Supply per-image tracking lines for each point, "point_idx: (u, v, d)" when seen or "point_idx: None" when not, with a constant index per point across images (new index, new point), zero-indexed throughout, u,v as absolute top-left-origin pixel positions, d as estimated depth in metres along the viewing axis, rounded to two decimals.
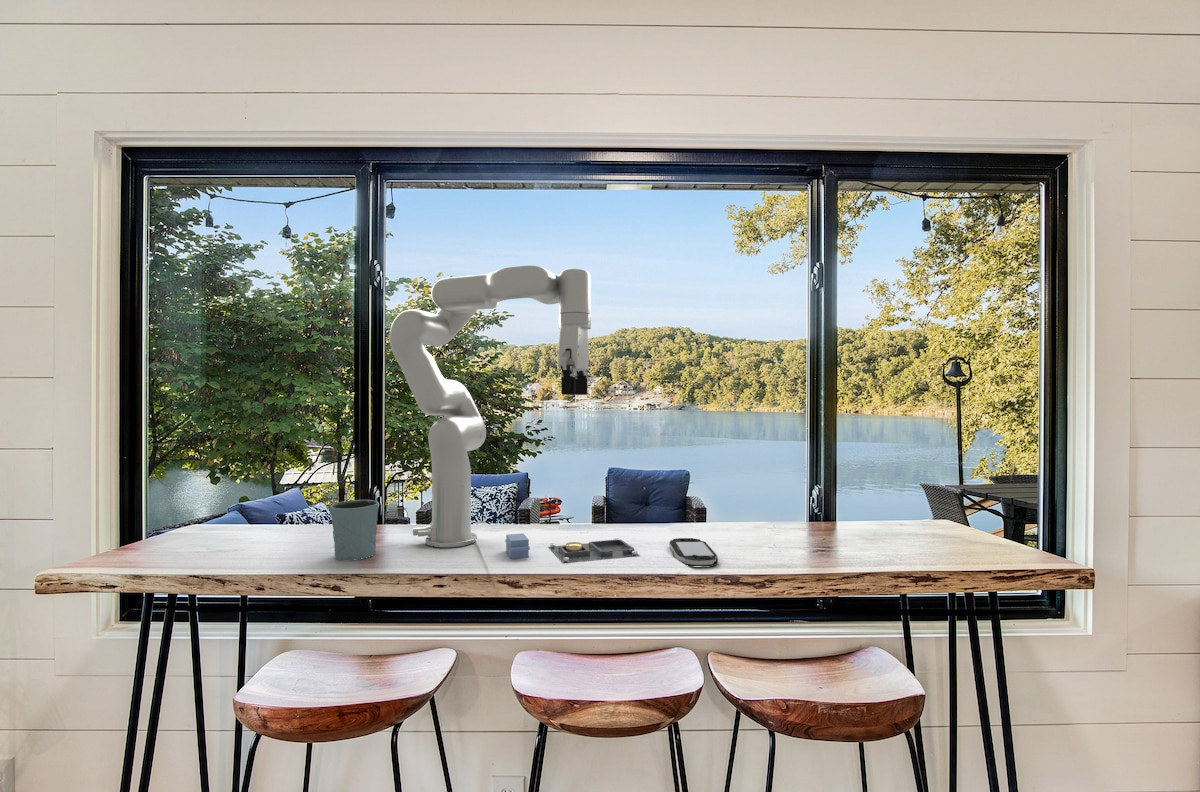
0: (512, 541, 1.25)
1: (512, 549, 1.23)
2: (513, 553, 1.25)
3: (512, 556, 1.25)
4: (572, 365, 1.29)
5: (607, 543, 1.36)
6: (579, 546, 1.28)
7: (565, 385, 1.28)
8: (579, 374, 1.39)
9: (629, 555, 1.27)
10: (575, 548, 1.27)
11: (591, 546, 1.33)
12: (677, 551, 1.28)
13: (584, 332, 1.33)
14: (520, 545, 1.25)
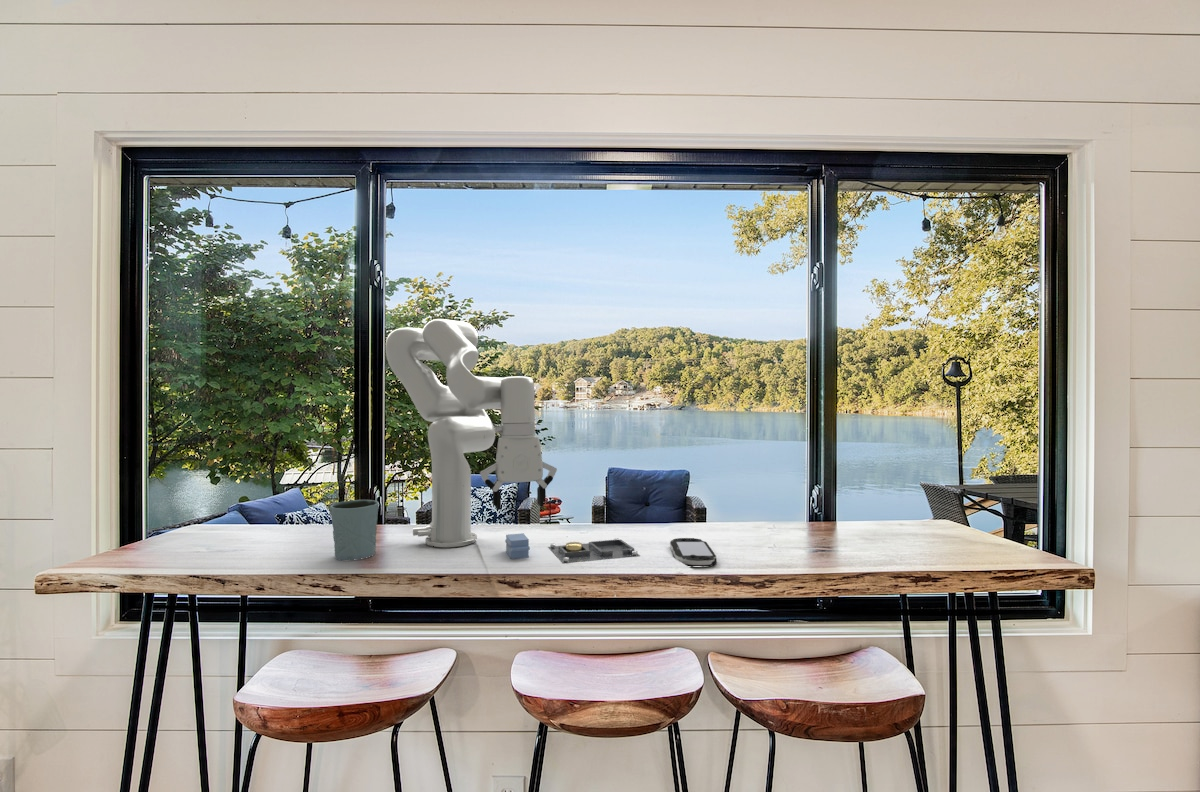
0: (512, 541, 1.25)
1: (512, 549, 1.23)
2: (513, 553, 1.25)
3: (512, 556, 1.25)
4: None
5: (607, 543, 1.36)
6: (579, 546, 1.28)
7: None
8: None
9: (629, 555, 1.27)
10: (575, 548, 1.27)
11: (591, 546, 1.33)
12: (676, 551, 1.29)
13: None
14: (520, 545, 1.25)
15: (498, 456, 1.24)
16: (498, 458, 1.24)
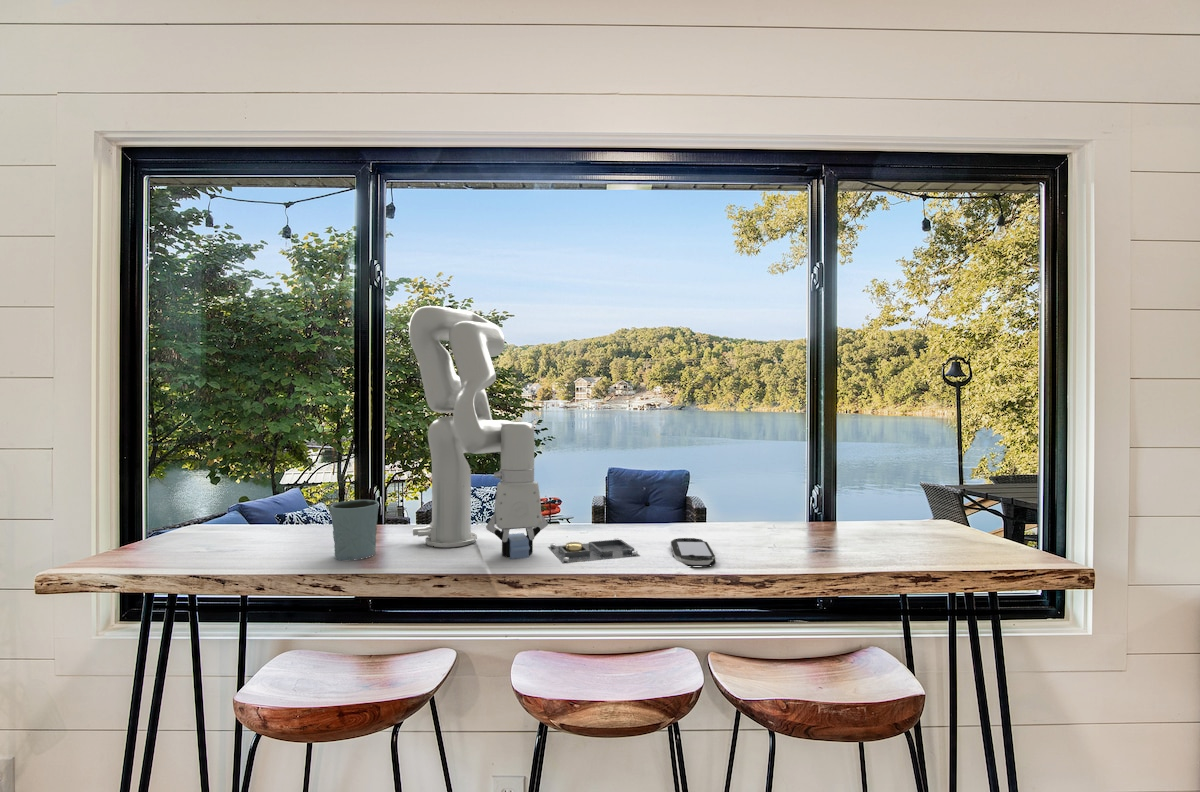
0: (512, 541, 1.25)
1: (512, 549, 1.23)
2: (513, 553, 1.25)
3: (512, 556, 1.25)
4: None
5: (607, 543, 1.36)
6: (579, 546, 1.28)
7: None
8: None
9: (629, 555, 1.27)
10: (575, 548, 1.27)
11: (591, 546, 1.33)
12: (676, 551, 1.29)
13: None
14: (520, 545, 1.25)
15: (497, 502, 1.25)
16: (497, 504, 1.25)
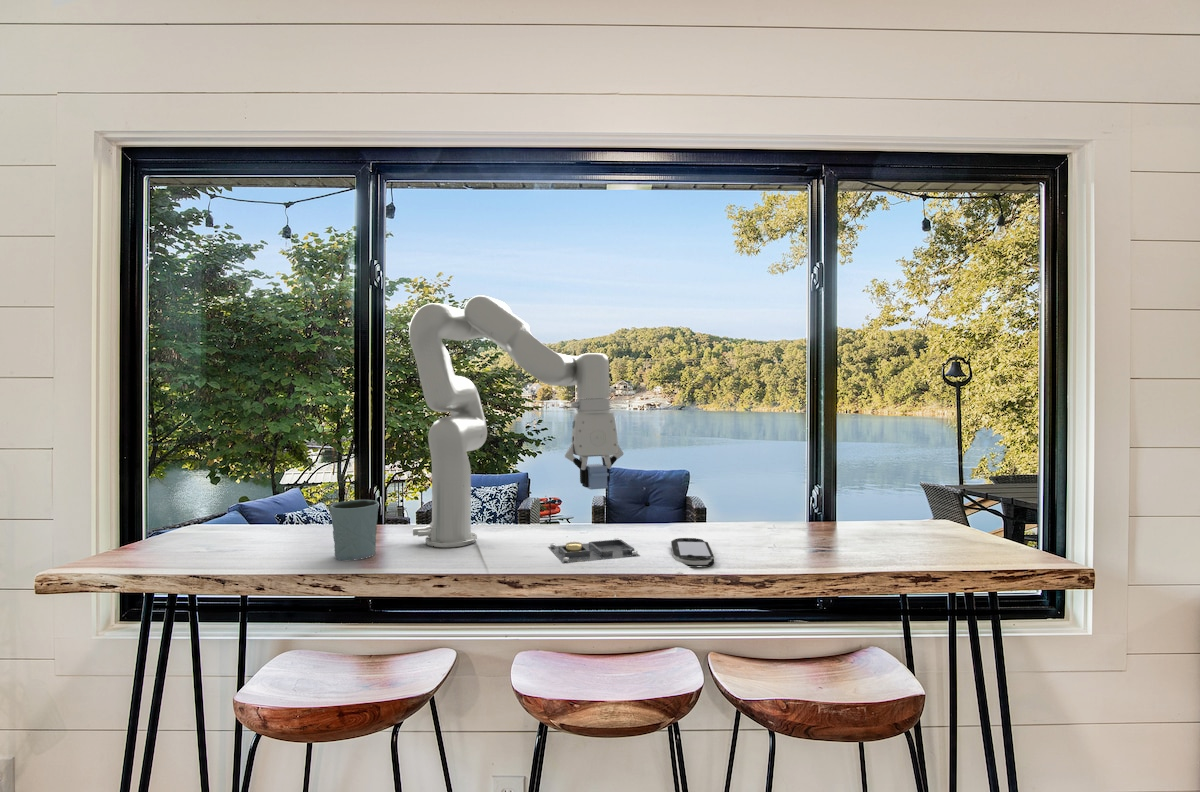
0: (591, 468, 1.28)
1: (592, 475, 1.26)
2: (592, 479, 1.28)
3: (592, 482, 1.27)
4: None
5: (607, 543, 1.36)
6: (578, 546, 1.28)
7: None
8: None
9: (629, 555, 1.27)
10: (575, 548, 1.27)
11: (591, 546, 1.33)
12: (675, 550, 1.29)
13: None
14: (599, 472, 1.28)
15: (575, 431, 1.28)
16: (576, 433, 1.28)
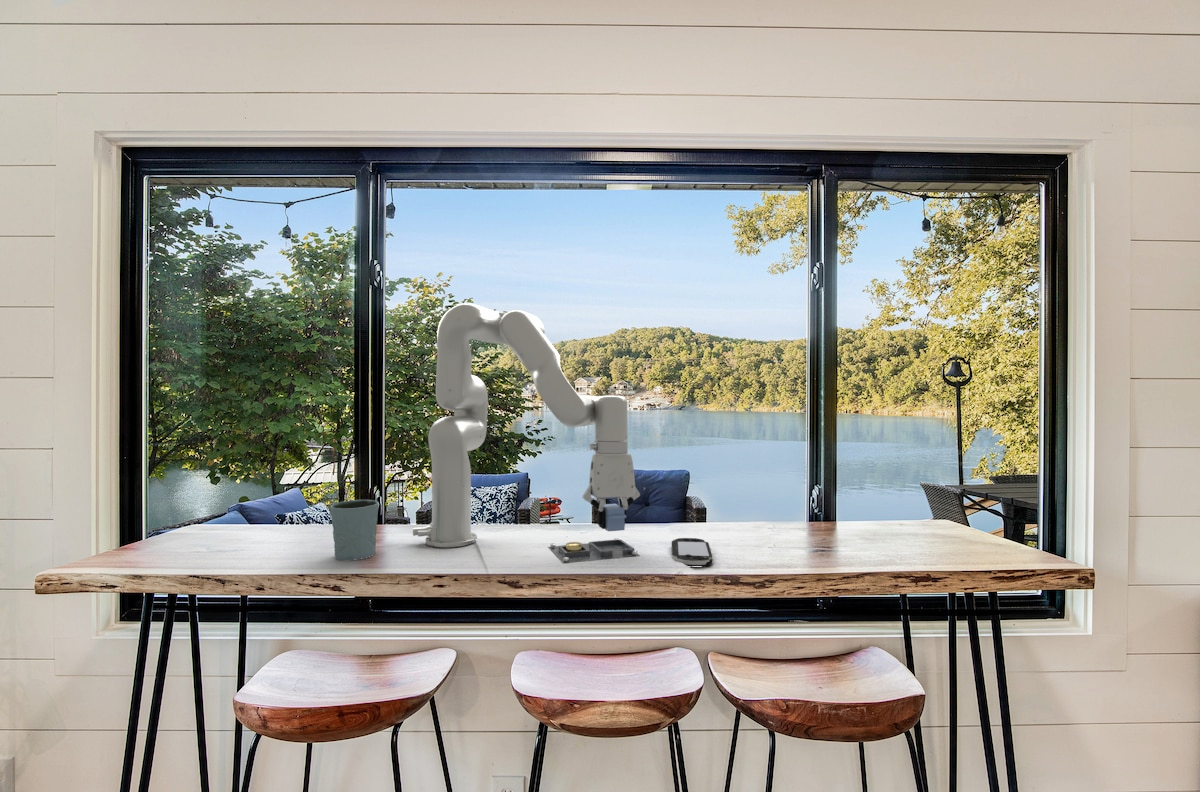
0: (609, 510, 1.29)
1: (610, 517, 1.27)
2: (610, 521, 1.29)
3: (609, 524, 1.29)
4: None
5: (607, 543, 1.36)
6: (578, 546, 1.28)
7: None
8: None
9: (629, 555, 1.27)
10: (574, 548, 1.27)
11: (591, 546, 1.33)
12: (674, 550, 1.29)
13: None
14: (617, 514, 1.29)
15: (594, 473, 1.29)
16: (594, 475, 1.29)
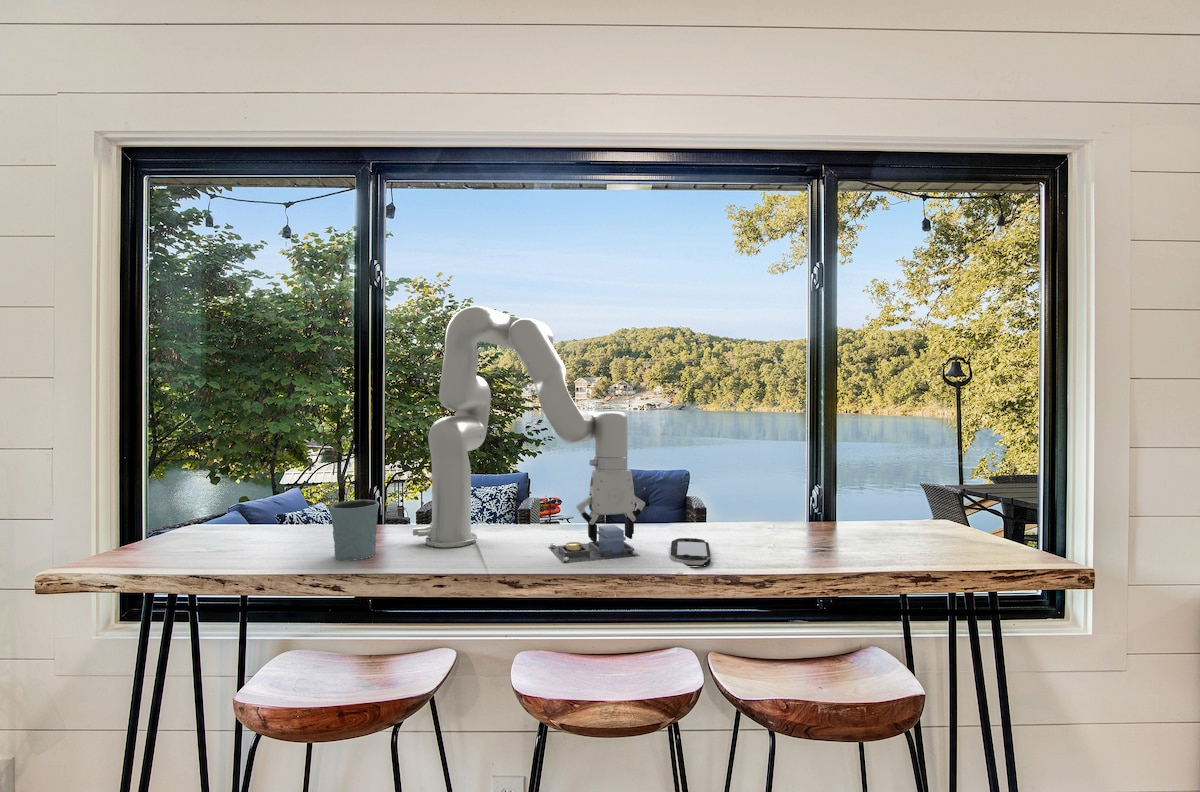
0: (608, 532, 1.29)
1: (609, 539, 1.27)
2: (609, 543, 1.29)
3: (608, 546, 1.29)
4: None
5: None
6: (578, 546, 1.28)
7: None
8: None
9: (629, 555, 1.27)
10: (574, 548, 1.27)
11: (591, 546, 1.33)
12: (673, 550, 1.29)
13: None
14: (616, 536, 1.29)
15: (594, 489, 1.29)
16: (594, 491, 1.29)
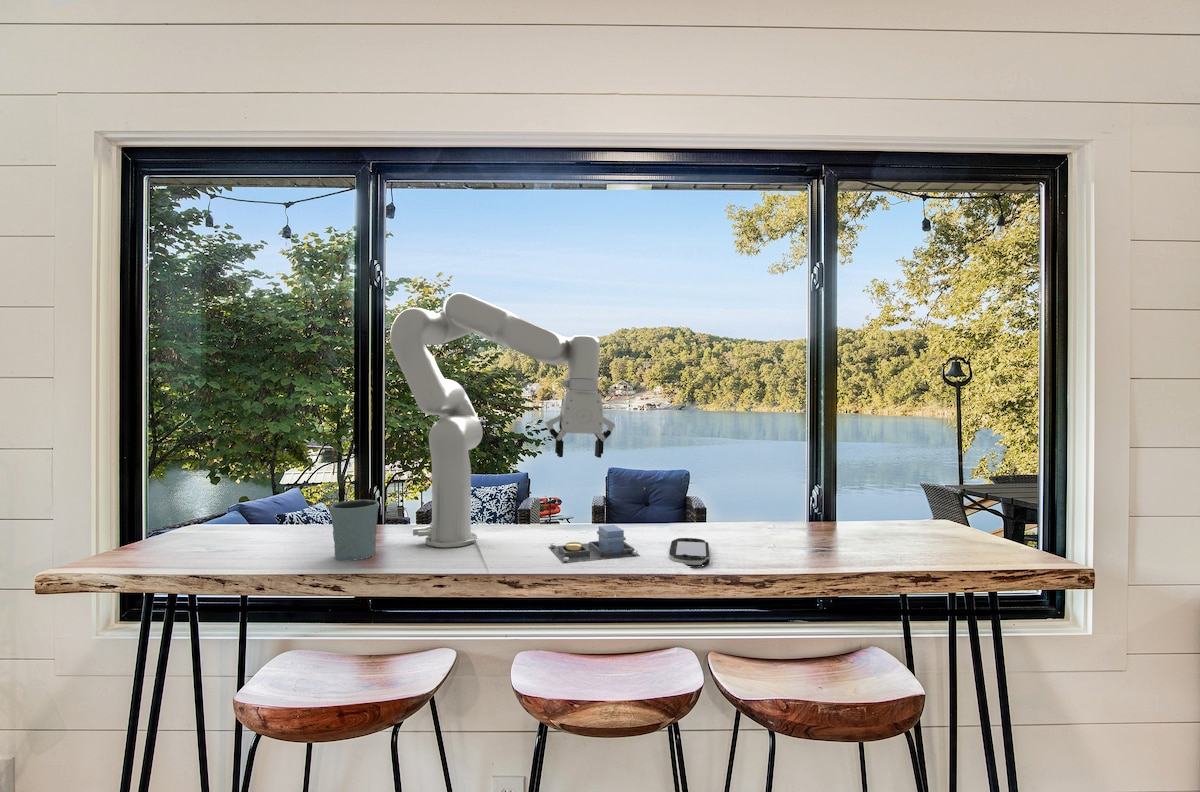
0: (608, 532, 1.29)
1: (609, 539, 1.27)
2: (609, 543, 1.29)
3: (608, 546, 1.29)
4: None
5: None
6: (578, 546, 1.28)
7: None
8: None
9: (629, 555, 1.27)
10: (574, 548, 1.27)
11: (591, 546, 1.33)
12: (672, 550, 1.29)
13: None
14: (616, 536, 1.29)
15: (564, 408, 1.35)
16: (563, 410, 1.35)
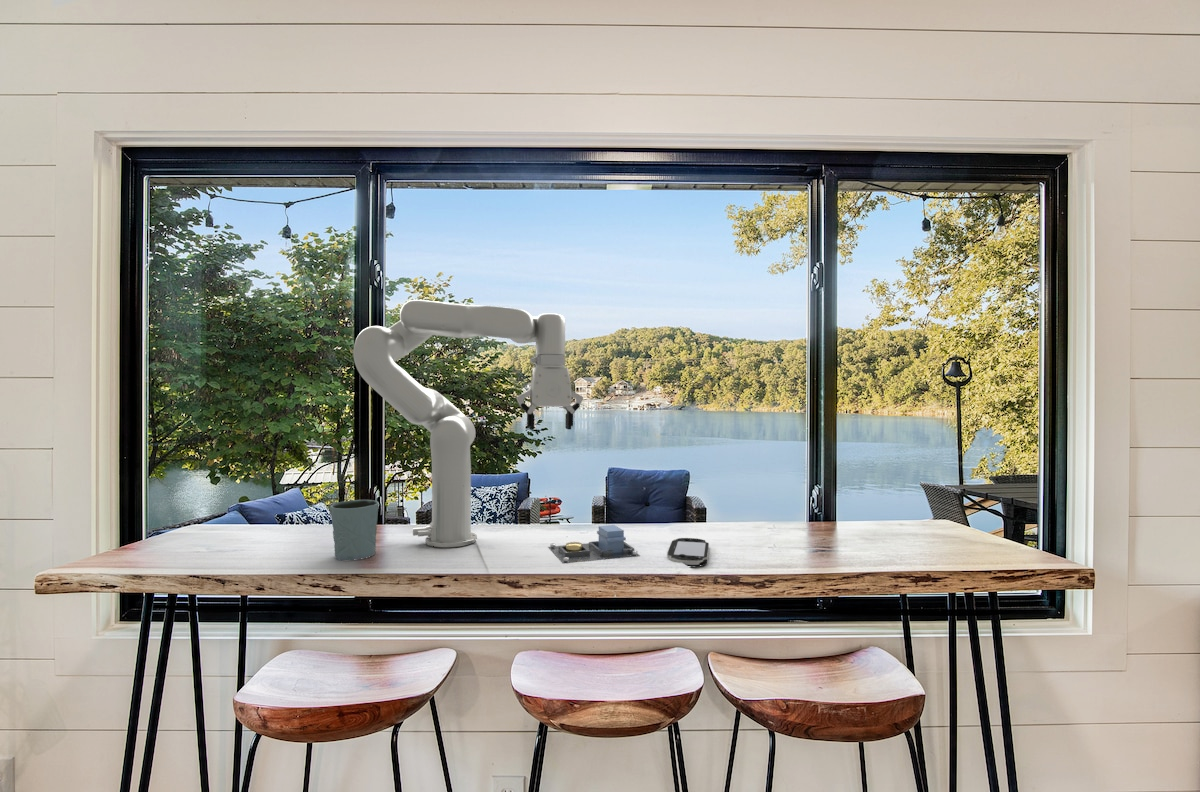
0: (608, 532, 1.29)
1: (609, 539, 1.27)
2: (609, 543, 1.29)
3: (608, 546, 1.29)
4: None
5: None
6: (578, 546, 1.28)
7: None
8: None
9: (629, 555, 1.27)
10: (574, 548, 1.27)
11: (591, 546, 1.33)
12: (670, 550, 1.30)
13: None
14: (616, 536, 1.29)
15: (533, 383, 1.42)
16: (533, 384, 1.41)
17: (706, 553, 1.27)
